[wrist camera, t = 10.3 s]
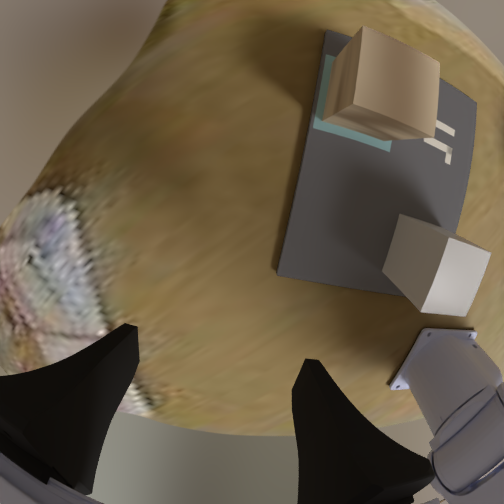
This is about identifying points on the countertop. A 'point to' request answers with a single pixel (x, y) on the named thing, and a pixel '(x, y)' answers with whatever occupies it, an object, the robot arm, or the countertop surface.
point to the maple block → (383, 88)
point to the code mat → (371, 188)
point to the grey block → (434, 267)
